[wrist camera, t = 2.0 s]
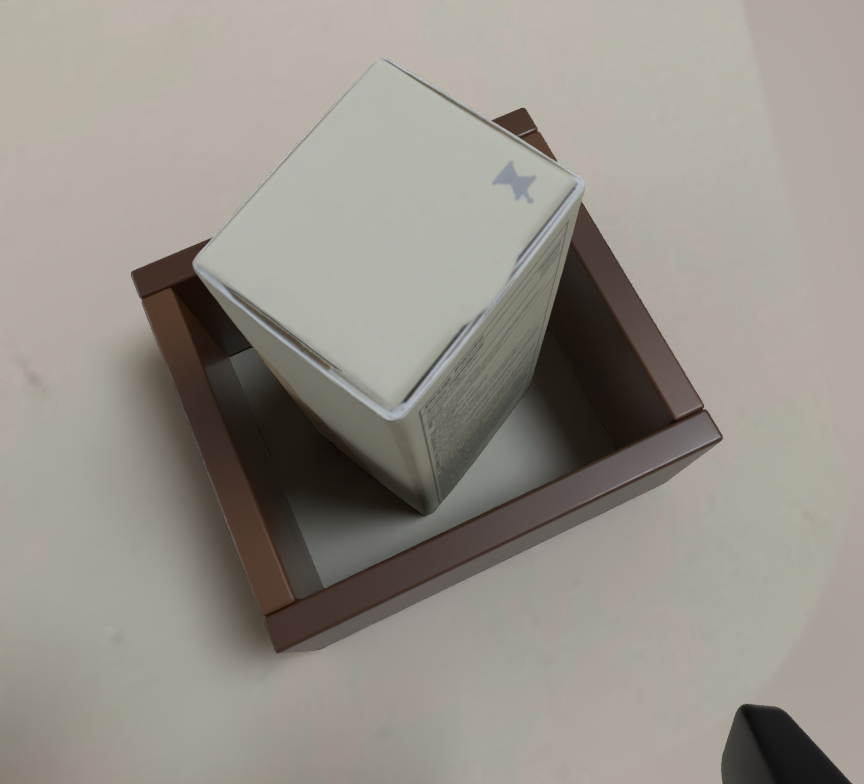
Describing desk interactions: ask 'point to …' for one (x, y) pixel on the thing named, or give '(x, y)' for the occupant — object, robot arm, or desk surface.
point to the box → (400, 276)
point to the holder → (476, 538)
